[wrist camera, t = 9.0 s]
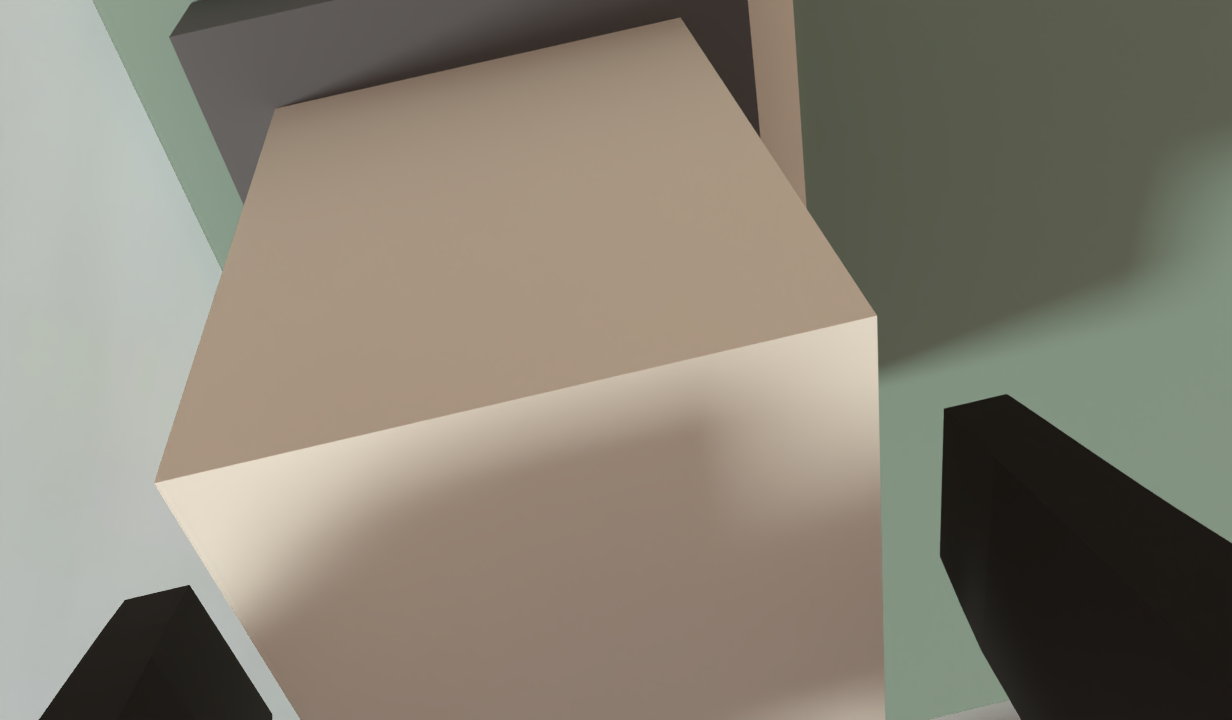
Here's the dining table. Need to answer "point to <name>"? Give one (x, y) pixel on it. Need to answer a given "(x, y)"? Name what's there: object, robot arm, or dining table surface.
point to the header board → (870, 210)
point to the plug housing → (539, 406)
